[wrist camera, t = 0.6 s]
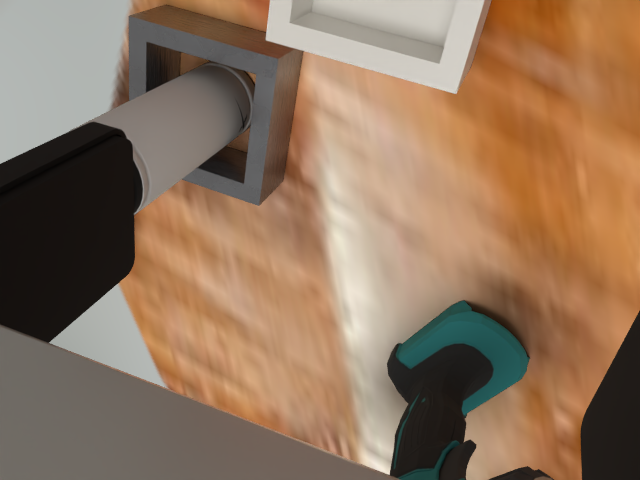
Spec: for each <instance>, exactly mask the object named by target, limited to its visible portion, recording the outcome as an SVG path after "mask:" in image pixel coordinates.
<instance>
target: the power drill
mask: <svg viewBox="0 0 640 480" xmlns="http://www.w3.org/2000/svg"><path fill="white" fill-rule="evenodd" d="M471 310H472V308H471V307H470V306H469V305H468V304H467V303H466V302H465V301H460V302H458V303H456V304H453V305H452V306H450V307H449V308H448V309H446V310H445V311H444V312H443V313H441V314H440V315H439V316H437V317H436V318H435V319H434V320H432V321H431V322H430V323H429V324H427V325H426V326H425V327H423V328H422V329H421V330H420V331H418V332H417V333H416V334H414V335H413V336H412V337H411V338H409V339H408V340H407V341H405V342H404V343H403V344H400V343H399V344H397V345H396V346H395V348H394V349H393V351H392V352H391V355H390V358H389V360H388V363H387V367H388V374H389V377H390V378H391V380H392V382H393V383H394V385H395V387H396V389H397V390H398V392H399V393H400V394H401V396H402V397H403V398H404V399H405V401H406V402H407V403H408V406H407V408H406V410H405V412H404V414H403V416H402V418H401V420H400V423H399V426H398V428H397V431H396V434H395V443H394V452H393V458H392V464H391V470H390V476H393V477H395V478H398V479H400V480H466V469H467V465H468V462H469V460H470V457H471V456H472V454H473V452H474V450H475V449H476V444H475V443H474V442H473V441H471V440H468V441H466V442H464V437H465V429H466V422H465V419H464V418H466V416H467V413H468V412H470V411H471V410H473V409H475V408H476V407H478V406H479V405H481V404H483V403H484V402H486V401H487V400H489V399H491V398H492V397H494V396H495V395H497V394H499V393H500V392H502V391H503V390H505V389H507V388H508V387H510V386H511V385H513V384H514V383H516V382H518V381H519V380H520V379H522V377H523V376H524V374H525V372H526V371H527V365H528V362H529V359H530V357H527V354H526V351H525V349H524V348H523V347H522V345H521V344H520V343H519V341H518V340H517V339H516V338H515V337H514V336H513V335H512V334H511V333H510V332H509V331H508V330H507V329H506V328H504V327H503V326H502V325H500V324H499V323H498V322H496V321H494V320H493V319H491V318H489V317H487V316H485V315H484V314H481V313H477V312H474V311H471ZM463 442H464V443H463ZM489 480H554V479H552V478H551V477H550V476H548V475H547V474H545V473H544V472H542V471H541V470H539V469H538V470H535V471H534V470H532V469H531V468H530V467H528V466H527V467H523V468H518V469H515V470H513V471H510V472H507V473H505V474H502V475H499V476H497V477H494V478H491V479H489Z"/></svg>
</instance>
